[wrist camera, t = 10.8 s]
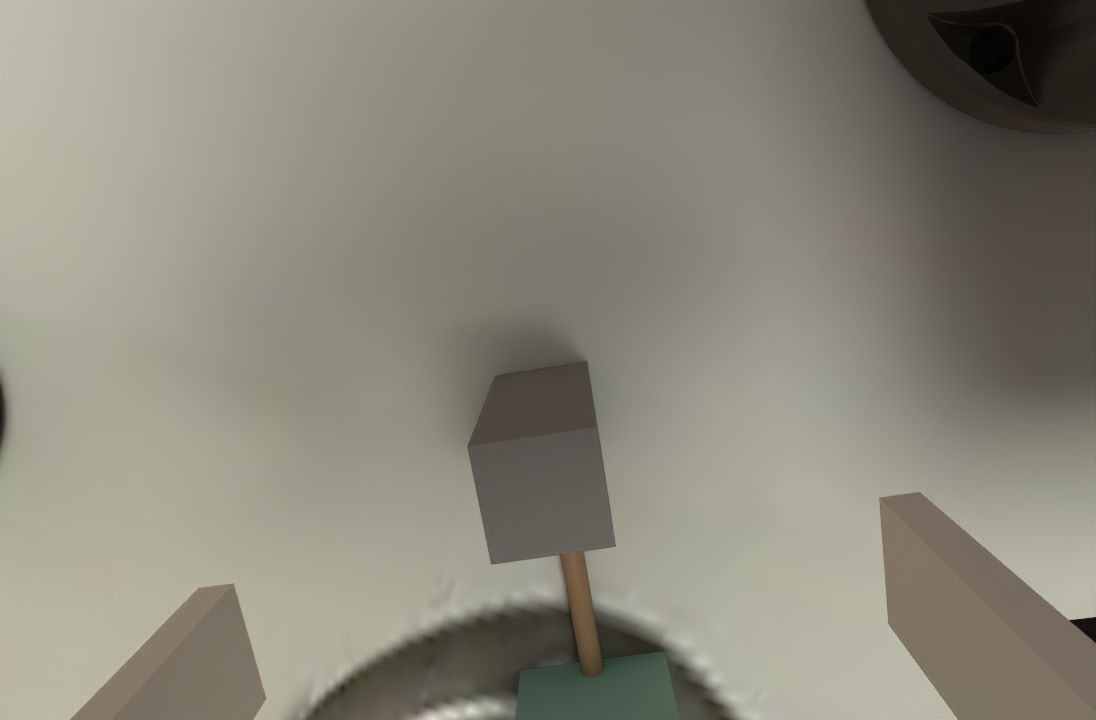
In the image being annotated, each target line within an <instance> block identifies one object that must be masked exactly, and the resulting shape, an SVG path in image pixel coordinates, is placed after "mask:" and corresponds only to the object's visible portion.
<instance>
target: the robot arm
mask: <svg viewBox="0 0 1096 720" xmlns="http://www.w3.org/2000/svg"><path fill="white" fill-rule="evenodd" d="M866 1H867V3H868V6H869V8H870V10H871V13H872V15H873V17H874V20H875V21H876V23H877V25H878V27H879V29H880V31H881V33H882V35H883V36H884V38H885V40H886V41H887V43H888V44H889V46H890V48H891V49H892V50H893V52H894V53H895V54H896V56H897V57H898V58H899V60H900V61H901V62H902V63H903V64H904V66H905V67H906V68H907V69H908V70H909V71H910V72H911V74H912V75H914V76H915V77H916V78H917V79H918V80H919V81H920V82H921V83H922V84H923V85H924V86H925V87H927V88H928V89H929V90H930V91H931V92H933V93H934V94H935V95H936V96H938V97H939V98H941V99H942V100H944V101H945V102H947V103H948V104H950V105H952V106H953V107H955V108H957V109H959V110H961V111H962V112H964V113H966V114H969V115H971V116H973V117H975V118H977V119H980V120H983V121H986V122H988V123H991V124H994V125H998V126H1002V127H1006V128H1010V129H1015V130H1021V131H1027V132H1037V133H1072V132H1081V131H1089V130H1096V0H866ZM879 500H880V514H881V528H882V542H883V556H884V569H885V583H886V597H887V611H888V624H889V625H890V627H891V628H892V630H893V631H894V632H895V634H896V635H897V636H898V638H899V639H900V641H901V642H902V643H903V645H904V646H905V647H906V649H907V650H908V652H909V653H910V654H911V656H912V657H913V658H914V660H915V661H916V662H917V664H918V665H919V667H920V668H921V669H922V671H923V672H924V673H925V675H926V676H927V678H928V679H929V680H930V682H931V683H932V684H933V686H934V687H935V689H936V690H937V691H938V693H939V694H940V695H941V697H942V698H943V700H944V701H945V702H946V704H947V705H948V706H949V708H950V709H951V711H952V712H953V713H954V715H955V716H956V717H957V719H958V720H1096V617H1093V618H1085V619H1076V620H1068V619H1067V618H1066V617H1064V616H1063V615H1062V614H1061V613H1060V612H1059V611H1057V610H1056V609H1055V608H1054V607H1053V606H1052V605H1050V604H1049V603H1048V602H1047V601H1046V600H1045V599H1043V598H1042V597H1041V596H1040V595H1039V594H1038V593H1036V592H1035V591H1034V590H1033V589H1032V588H1031V587H1029V586H1028V585H1027V584H1026V583H1025V582H1024V581H1022V580H1021V579H1020V578H1019V577H1018V576H1017V575H1016V574H1014V573H1013V572H1012V571H1011V570H1010V569H1009V568H1007V567H1006V566H1005V565H1004V564H1003V563H1002V562H1000V561H999V560H998V559H997V558H996V557H995V556H993V555H992V554H991V553H990V552H989V551H988V550H986V549H985V548H984V547H983V546H982V545H981V544H979V543H978V542H977V541H976V540H975V539H974V538H972V537H971V536H970V535H969V534H968V533H967V532H966V531H964V530H963V529H962V528H961V527H960V526H959V525H957V524H956V523H955V522H954V521H953V520H952V519H950V518H949V517H948V516H947V515H946V514H945V513H943V512H942V511H941V510H940V509H939V508H938V507H936V506H935V505H934V504H933V503H932V502H931V501H929V500H928V499H927V498H926V497H925V496H924V495H922V494H921V493H920V492H918V493H910V494H903V495H895V496H888V497H880V498H879ZM265 700H266V696H265V693H264V689H263V686H262V682H261V679H260V675H259V671H258V668H257V664H256V661H255V657H254V654H253V650H252V647H251V643H250V640H249V636H248V633H247V629H246V625H245V622H244V618H243V615H242V611H241V608H240V604H239V601H238V597H237V594H236V590H235V587H234V584H227V585H219V586H212V587H204V588H198V589H197V590H196V591H195V592H194V593H193V594H192V595H191V597H190V598H189V599H188V600H187V601H186V602H185V603H184V604H183V605H182V606H181V607H180V608H179V609H178V610H177V611H176V612H175V613H174V614H173V615H172V616H171V617H170V618H169V619H168V620H167V621H166V622H165V623H164V624H163V625H162V626H161V627H160V628H159V629H158V630H157V631H156V632H155V633H154V634H153V635H152V636H151V637H150V638H149V640H148V641H147V642H146V643H145V644H144V645H143V646H142V647H141V648H140V649H139V650H138V651H137V652H136V653H135V654H134V655H133V656H132V657H131V658H130V659H129V660H128V661H127V662H126V663H125V664H124V665H123V666H122V667H121V668H120V669H119V670H118V671H117V672H116V673H115V674H114V675H113V676H112V677H111V678H110V679H109V680H108V681H107V683H106V684H105V685H104V686H103V687H102V688H101V689H100V690H99V691H98V692H97V693H96V694H95V695H94V696H93V697H92V698H91V699H90V700H89V701H88V702H87V703H86V704H85V705H84V706H83V707H82V708H81V709H80V710H79V711H78V712H77V713H76V714H75V715H74V716H73V717H72V718H71V719H70V720H253V719H254V717H255V716H256V714H257V713H258V711H259V709H260V708H261V706H262V705H263V703H264V701H265Z"/></svg>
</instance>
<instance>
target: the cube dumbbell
mask: <svg viewBox="0 0 1096 720" xmlns="http://www.w3.org/2000/svg"><path fill="white" fill-rule="evenodd" d="M468 451H469V456H470V461H471V466H472V471H473V476H474V481H475V486H476V491H477V496H478V501H479V506H480V511H481V516H482V521H483V526H484V531H485V536H486V541H487V546H488V551H489V556H490V561H491V565H492V564H499V563H506V562H513V561H520V560H527V559H534V558H541V557H548V556H554V555H561V560H562V566H563V571H564V577H565V582H566V588H567V594H568V599H569V605H570V610H571V616H572V622H573V627H574V633H575V638H576V644H577V650H578V655H579V661H580V662H578V663H571V664H563V665H556V666H548V667H541V668H534V669H526V670H520V678H519V689H518V699H517V710H516V720H680V719H679V714H678V710H677V705H676V701H675V696H674V692H673V687H672V683H671V678H670V674H669V669H668V665H667V661H666V656H665V652H664V651H659V652H652V653H645V654H637V655H630V656H622V657H615V658H608V659H602V657H601V651H600V645H599V639H598V633H597V628H596V622H595V616H594V610H593V604H592V598H591V593H590V587H589V581H588V575H587V569H586V563H585V557H584V552H583V551H589V550H596V549H603V548H610V547H616V545H615V538H614V532H613V525H612V518H611V512H610V505H609V498H608V492H607V485H606V478H605V472H604V465H603V458H602V452H601V445H600V439H599V433H598V427H597V420H596V414H595V408H594V402H593V395H592V389H591V383H590V377H589V370H588V364H587V362H581V363H575V364H569V365H562V366H556V367H550V368H543V369H537V370H531V371H525V372H518V373H512V374H506V375H499V376H495V378H494V381H493V383H492V386H491V388H490V391H489V393H488V396H487V398H486V401H485V404H484V406H483V409H482V411H481V414H480V416H479V419H478V421H477V424H476V426H475V429H474V432H473V434H472V437H471V439H470V442H469V444H468Z"/></svg>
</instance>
